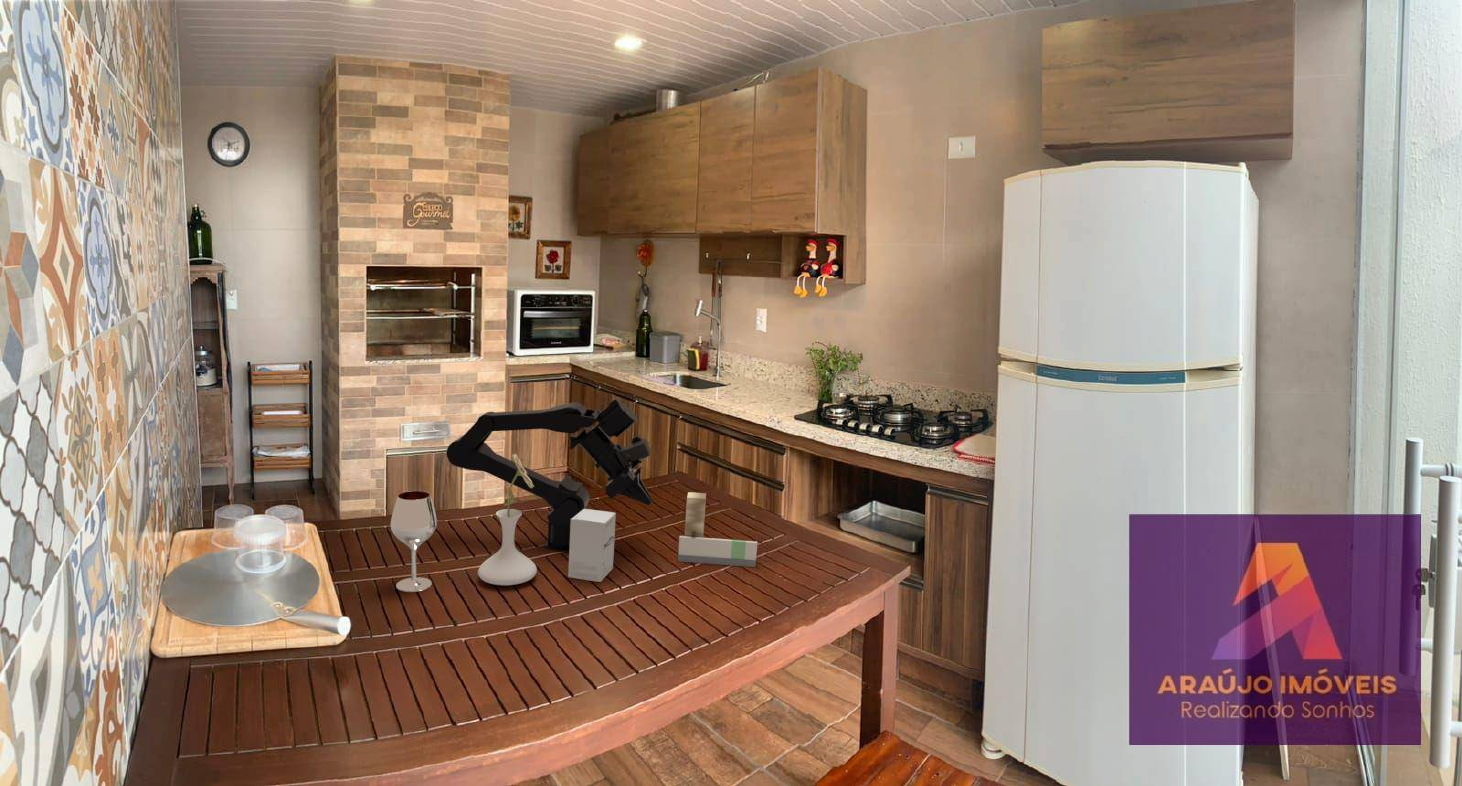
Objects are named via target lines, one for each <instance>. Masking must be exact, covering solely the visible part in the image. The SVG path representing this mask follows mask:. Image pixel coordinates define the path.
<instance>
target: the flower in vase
mask: <svg viewBox="0 0 1462 786" xmlns="http://www.w3.org/2000/svg"><path fill="white" fill-rule="evenodd" d="M512 460H513V462H515V464H516V466H517V468H518V471H517V474H516V475H515V477H514V479H513V481H512V483H510V485H509V488H508V489H507V491H508V492H507V503H505V504H503V506H506V507H507V508H504V509H500V510H498V511H496V512H495V516H497V518H498V519H499V521H500V526H501V529H502V530H501V531H502V543H501V547H500V549H499V550H497V552H496V553H494V554H493V555H492V556H490V557H489V558H487V559H486V560H485V561H484V562H483V563H482V564H480V566H479V567H478V571H477V575H478V577H479V578H480V579H481V580H482V581H484V582H485V583H488V584H492V585H496V586H514V585H519V584H523V583H526V582H528V581H530V580H532V579H533V578H534V577H535V576H536V574H537V573H538V572H537V571H538V569H537V568H538V567H537V566H536V564H535V562H534V561H532V560H531V559H530V558H529V557H528V556H525V555H524V554H523V553H522V552H520V551H519V550H518V549H517V547H516V546H515V545H516V544H515V532H516V526H517V522H518V521H519V519H520V517H521V516H522V514H523V512H522V511H521V510H520V509H515V508H510V505H513V504H514V503H516V502H517V500H515V495H514V494H513V491H512V487H513V486H514V485H513V483H514V481H515V479H516V477H517V476H522V477H523V479H524V480H525V482H526V483H527V485H528V486H529V487H530V488H531V489H532V488H533V487H534V485H533V484H532V481H531V479H530V478H529V477H528V476H527V475H526V474H527V472H526V470H525V469H524V468H523V467H522V466H523V465H522V462H521V460H520V458H519V457H518V455H517V453H514V454H512Z"/></svg>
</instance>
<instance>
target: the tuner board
mask: <svg viewBox="0 0 1462 786" xmlns="http://www.w3.org/2000/svg"><path fill="white" fill-rule="evenodd" d="M757 552H758V541H753V540H739V539H729V538H728V539H726V538H713V537H711V538H709V537H703V538H701V537H688V536H685V535H679V539H678V553H677V554H678V555H677V562H683V563H695V564H707V565H720V566H735V567H748V568H756V564H757Z"/></svg>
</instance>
